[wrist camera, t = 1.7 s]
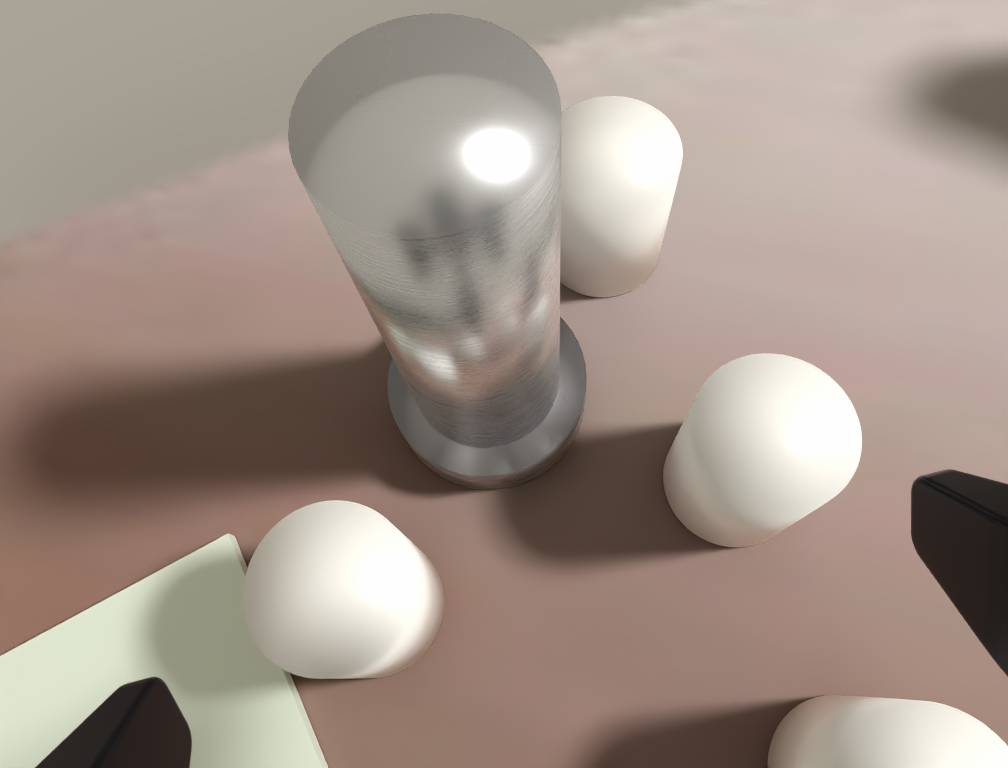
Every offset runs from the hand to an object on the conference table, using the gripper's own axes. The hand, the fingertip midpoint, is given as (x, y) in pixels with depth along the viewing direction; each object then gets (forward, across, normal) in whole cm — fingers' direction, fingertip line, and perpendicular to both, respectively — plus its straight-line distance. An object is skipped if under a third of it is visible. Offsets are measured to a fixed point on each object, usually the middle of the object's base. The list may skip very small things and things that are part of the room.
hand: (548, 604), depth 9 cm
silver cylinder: (+15, 0, +4) cm, 16 cm away
